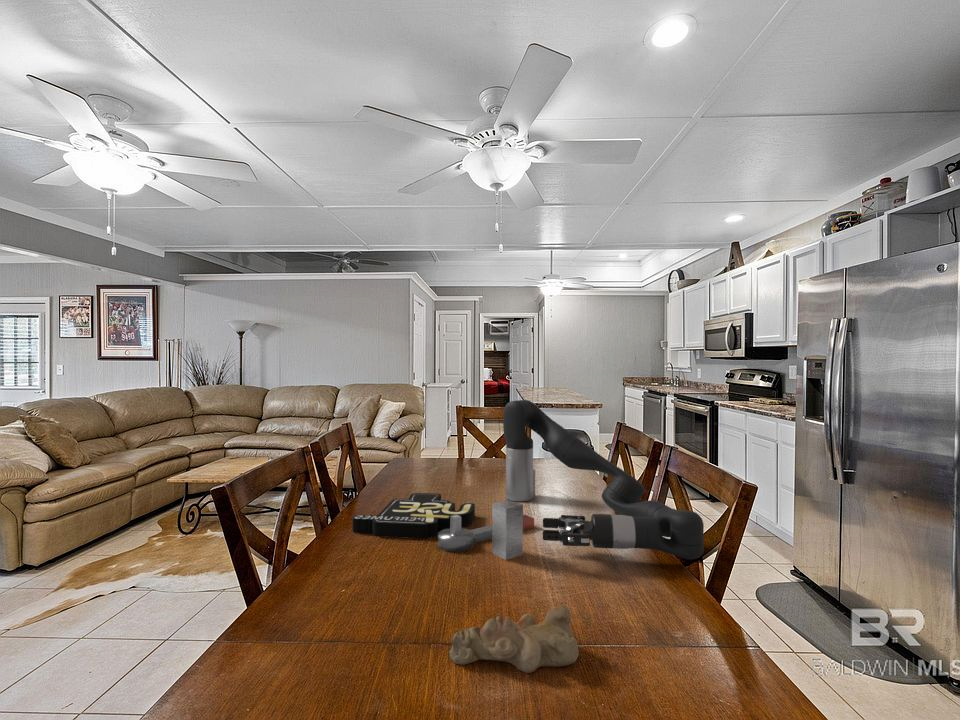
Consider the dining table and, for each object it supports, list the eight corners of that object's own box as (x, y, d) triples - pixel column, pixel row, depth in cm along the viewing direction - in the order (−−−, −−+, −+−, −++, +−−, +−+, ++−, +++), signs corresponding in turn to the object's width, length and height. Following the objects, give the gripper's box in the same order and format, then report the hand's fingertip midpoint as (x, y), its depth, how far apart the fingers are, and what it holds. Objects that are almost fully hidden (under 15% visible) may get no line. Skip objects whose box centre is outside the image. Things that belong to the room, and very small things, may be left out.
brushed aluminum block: (508, 548, 120) (509, 499, 120) (522, 555, 116) (522, 505, 116) (492, 553, 117) (492, 503, 117) (505, 560, 113) (506, 508, 113)
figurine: (585, 639, 71) (448, 639, 70) (582, 686, 72) (447, 686, 71) (568, 590, 83) (450, 589, 82) (565, 630, 84) (449, 630, 83)
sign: (347, 521, 129) (381, 491, 158) (347, 536, 129) (381, 504, 158) (466, 526, 125) (478, 494, 155) (466, 542, 125) (478, 507, 155)
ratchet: (519, 521, 141) (519, 496, 141) (540, 530, 133) (540, 504, 133) (431, 543, 123) (431, 515, 123) (450, 554, 116) (450, 524, 116)
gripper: (617, 559, 106) (542, 556, 108) (609, 536, 120) (543, 533, 122) (617, 525, 106) (542, 522, 108) (608, 506, 120) (542, 504, 122)
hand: (542, 528), depth 115 cm, fingers open, 8 cm apart
